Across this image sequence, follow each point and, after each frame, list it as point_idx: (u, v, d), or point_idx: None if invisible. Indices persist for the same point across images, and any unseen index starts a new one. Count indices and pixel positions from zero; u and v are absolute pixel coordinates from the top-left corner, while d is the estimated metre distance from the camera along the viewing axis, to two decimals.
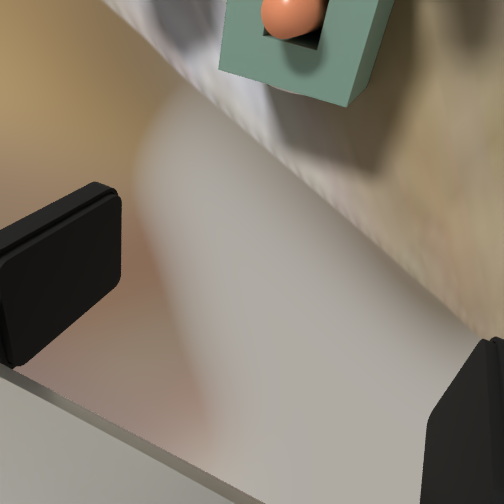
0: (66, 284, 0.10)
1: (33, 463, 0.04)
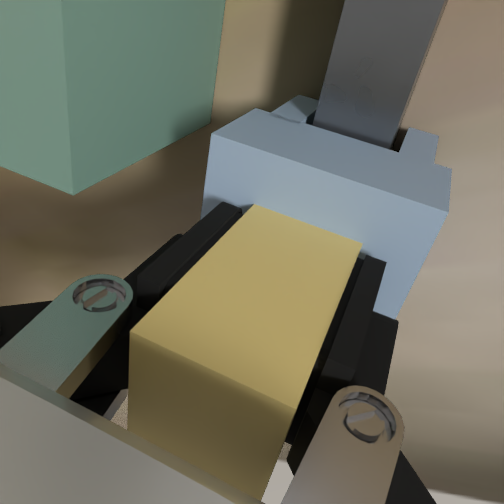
0: None
1: (33, 464, 0.04)
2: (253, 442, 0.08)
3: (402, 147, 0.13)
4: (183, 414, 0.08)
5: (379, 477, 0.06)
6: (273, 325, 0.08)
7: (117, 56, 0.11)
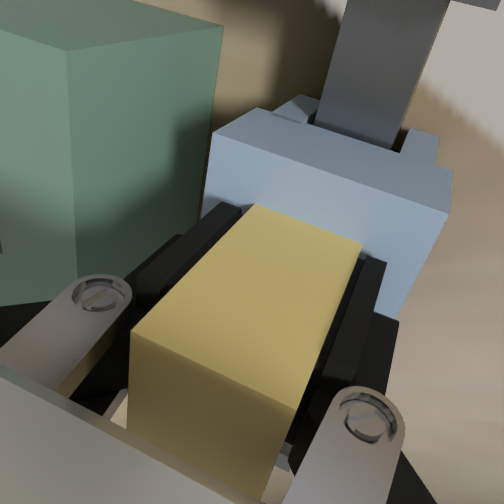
0: None
1: (33, 464, 0.04)
2: (253, 443, 0.08)
3: (403, 148, 0.13)
4: (183, 414, 0.08)
5: (380, 478, 0.06)
6: (273, 326, 0.08)
7: (116, 252, 0.15)
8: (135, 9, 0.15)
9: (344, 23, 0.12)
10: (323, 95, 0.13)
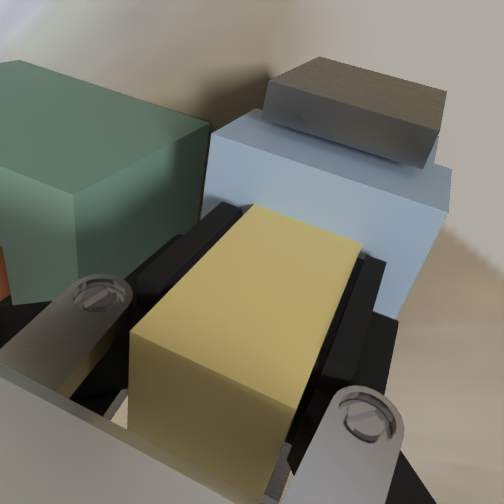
0: None
1: (33, 464, 0.04)
2: (253, 442, 0.08)
3: None
4: (183, 414, 0.08)
5: (379, 477, 0.06)
6: (273, 325, 0.08)
7: None
8: (132, 111, 0.18)
9: None
10: None
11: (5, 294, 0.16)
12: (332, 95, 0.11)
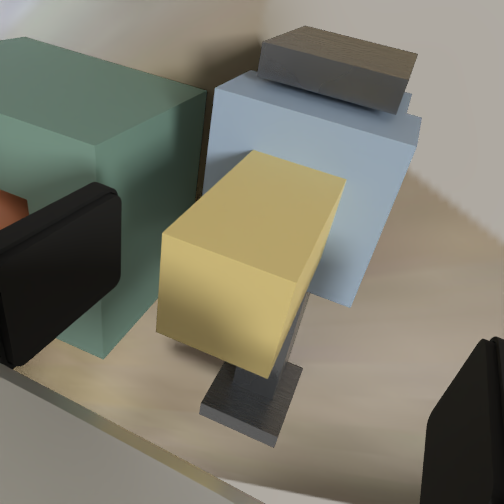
0: (66, 284, 0.10)
1: (33, 464, 0.04)
2: (262, 320, 0.10)
3: None
4: (205, 304, 0.10)
5: None
6: (275, 232, 0.10)
7: (128, 278, 0.19)
8: (135, 81, 0.19)
9: None
10: None
11: None
12: (318, 53, 0.13)
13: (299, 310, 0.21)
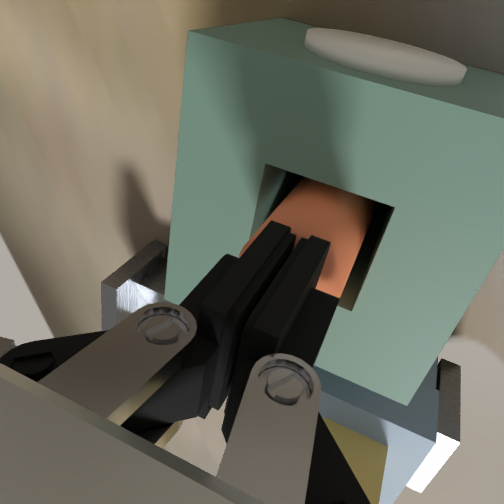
0: None
1: (32, 464, 0.04)
2: None
3: None
4: None
5: (287, 434, 0.06)
6: None
7: None
8: None
9: None
10: None
11: None
12: None
13: None
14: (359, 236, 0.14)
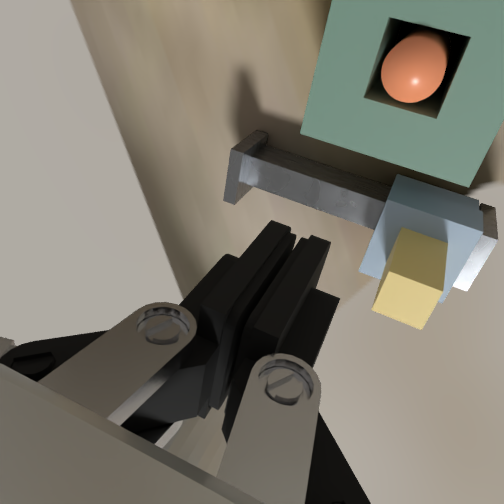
0: None
1: (33, 464, 0.04)
2: (402, 315, 0.26)
3: None
4: (408, 297, 0.25)
5: (287, 434, 0.06)
6: None
7: None
8: None
9: None
10: None
11: None
12: None
13: (327, 212, 0.34)
14: (447, 57, 0.23)
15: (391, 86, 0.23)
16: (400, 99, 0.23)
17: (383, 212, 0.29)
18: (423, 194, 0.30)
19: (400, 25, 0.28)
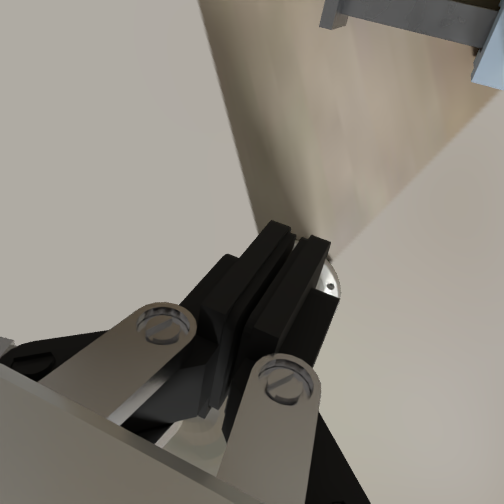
0: None
1: (33, 464, 0.04)
2: None
3: None
4: None
5: (287, 434, 0.06)
6: None
7: None
8: None
9: None
10: None
11: None
12: None
13: (429, 34, 0.33)
14: None
15: None
16: None
17: None
18: None
19: None
